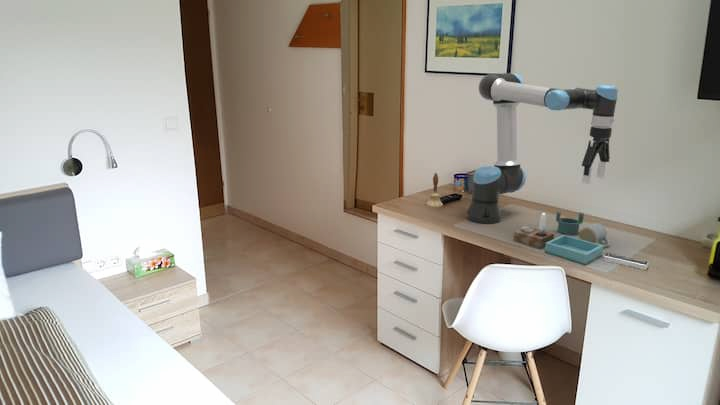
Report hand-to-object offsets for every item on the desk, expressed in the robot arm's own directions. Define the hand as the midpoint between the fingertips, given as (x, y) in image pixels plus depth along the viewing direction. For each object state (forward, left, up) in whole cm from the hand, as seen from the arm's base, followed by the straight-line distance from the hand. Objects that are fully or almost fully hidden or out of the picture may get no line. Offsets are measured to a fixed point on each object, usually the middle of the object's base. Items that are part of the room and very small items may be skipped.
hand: (593, 180), depth 211 cm
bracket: (-10, +6, -26) cm, 29 cm away
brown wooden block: (-13, -17, -26) cm, 33 cm away
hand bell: (-73, -7, -26) cm, 78 cm away
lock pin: (-10, -17, -26) cm, 32 cm away
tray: (+4, -17, -26) cm, 31 cm away
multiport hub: (+21, -11, -26) cm, 35 cm away
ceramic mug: (+4, +1, -26) cm, 26 cm away
